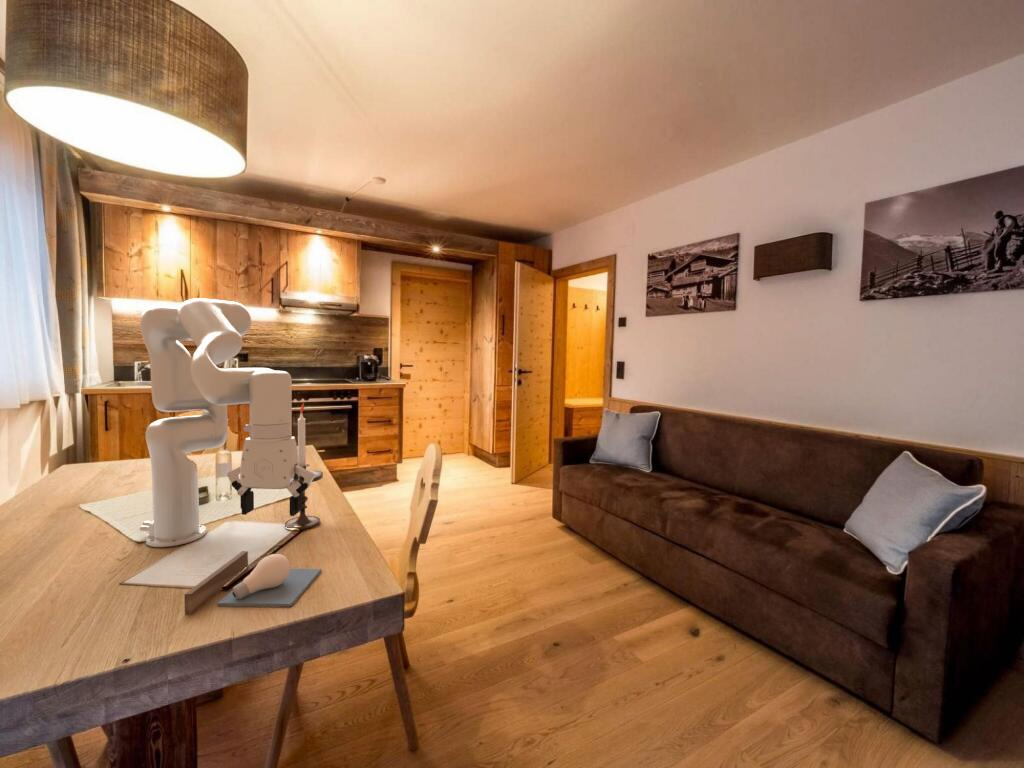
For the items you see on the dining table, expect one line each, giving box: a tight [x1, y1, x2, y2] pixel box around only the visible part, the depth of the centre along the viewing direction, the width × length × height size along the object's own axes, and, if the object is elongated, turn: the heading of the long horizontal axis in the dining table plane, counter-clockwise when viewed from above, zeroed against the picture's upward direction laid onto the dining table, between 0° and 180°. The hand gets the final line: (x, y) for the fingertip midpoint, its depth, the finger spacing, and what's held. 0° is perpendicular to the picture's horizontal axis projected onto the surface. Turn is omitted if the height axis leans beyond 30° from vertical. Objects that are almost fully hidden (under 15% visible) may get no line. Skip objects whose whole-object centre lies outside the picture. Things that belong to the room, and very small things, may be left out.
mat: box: [217, 568, 322, 608], centre depth 92 cm, size 14×14×1 cm
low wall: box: [183, 550, 249, 616], centre depth 91 cm, size 1×18×4 cm, turn 1°
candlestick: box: [284, 402, 324, 532], centre depth 125 cm, size 11×11×35 cm
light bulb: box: [232, 553, 292, 599], centre depth 90 cm, size 7×7×11 cm
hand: (271, 513), depth 91 cm, fingers open, 9 cm apart
